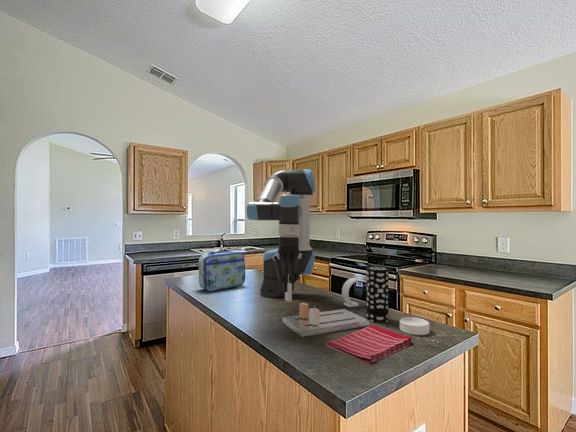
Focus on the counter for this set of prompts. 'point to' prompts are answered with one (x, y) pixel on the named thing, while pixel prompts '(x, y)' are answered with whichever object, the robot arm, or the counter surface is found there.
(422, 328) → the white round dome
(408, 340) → the dish towel
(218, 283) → the lunch box
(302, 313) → the fader terracotta
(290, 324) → the console
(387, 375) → the counter surface
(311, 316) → the fader cream
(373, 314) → the white-spotted black cylinder
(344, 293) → the headphone stand
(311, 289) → the counter surface
